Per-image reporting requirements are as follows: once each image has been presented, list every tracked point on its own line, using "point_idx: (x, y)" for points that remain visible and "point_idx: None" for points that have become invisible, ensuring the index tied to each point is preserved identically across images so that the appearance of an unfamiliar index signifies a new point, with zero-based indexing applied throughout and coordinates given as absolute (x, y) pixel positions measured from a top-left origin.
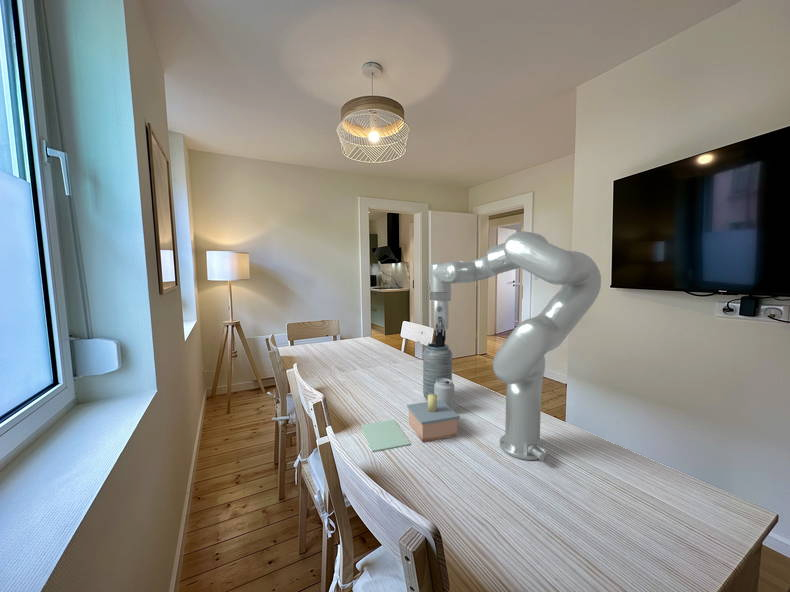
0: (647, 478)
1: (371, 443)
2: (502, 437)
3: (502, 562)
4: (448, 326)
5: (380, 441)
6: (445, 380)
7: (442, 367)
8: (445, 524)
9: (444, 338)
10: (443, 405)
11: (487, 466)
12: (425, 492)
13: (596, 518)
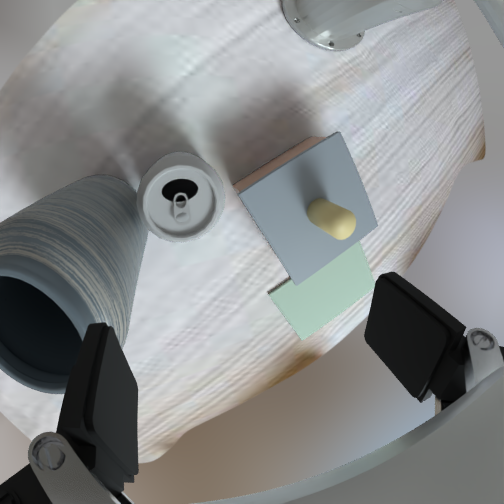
0: None
1: (358, 296)
2: (312, 37)
3: (476, 121)
4: (349, 483)
5: (353, 286)
6: (155, 201)
7: (120, 238)
8: (461, 165)
9: (445, 311)
10: (282, 181)
11: (389, 92)
12: (436, 189)
13: (428, 11)
